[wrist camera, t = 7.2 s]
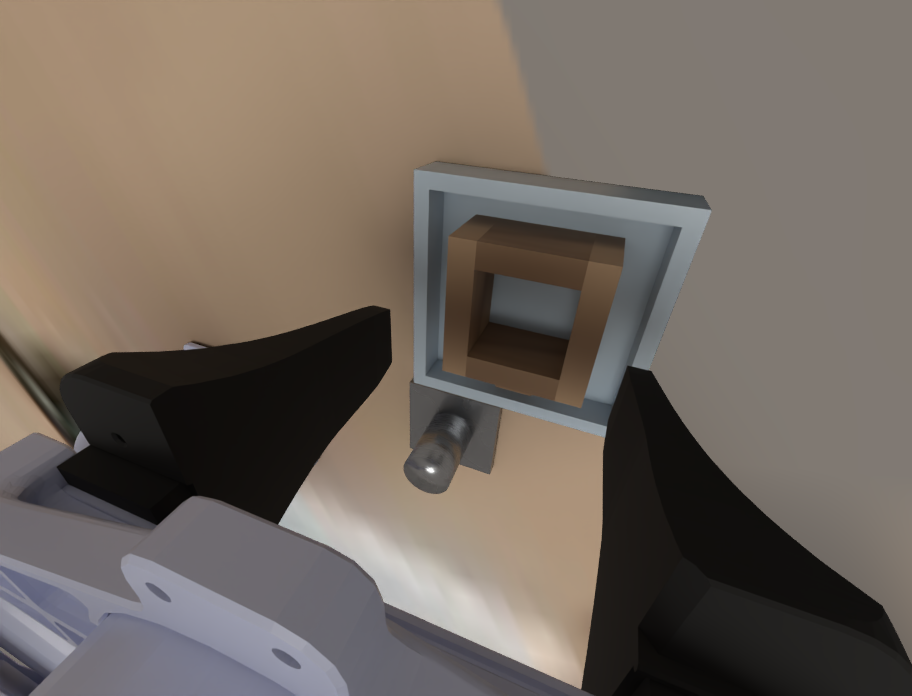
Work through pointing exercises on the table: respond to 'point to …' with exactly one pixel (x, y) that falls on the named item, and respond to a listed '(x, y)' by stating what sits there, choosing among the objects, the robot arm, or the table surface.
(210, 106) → the table surface
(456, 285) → the brown wooden frame
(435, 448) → the metal knob
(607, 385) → the tray
